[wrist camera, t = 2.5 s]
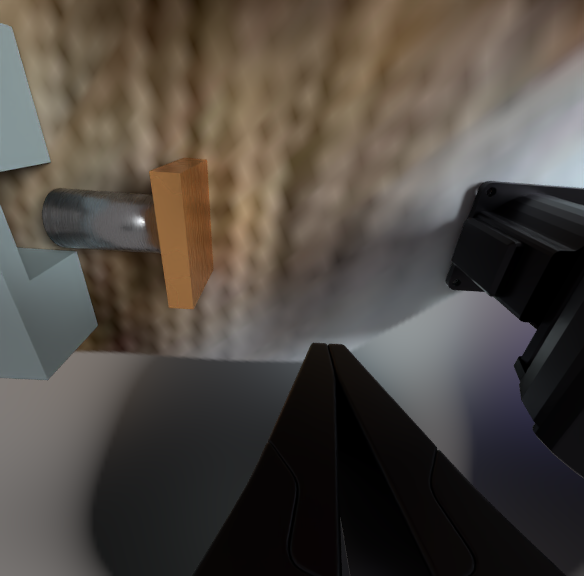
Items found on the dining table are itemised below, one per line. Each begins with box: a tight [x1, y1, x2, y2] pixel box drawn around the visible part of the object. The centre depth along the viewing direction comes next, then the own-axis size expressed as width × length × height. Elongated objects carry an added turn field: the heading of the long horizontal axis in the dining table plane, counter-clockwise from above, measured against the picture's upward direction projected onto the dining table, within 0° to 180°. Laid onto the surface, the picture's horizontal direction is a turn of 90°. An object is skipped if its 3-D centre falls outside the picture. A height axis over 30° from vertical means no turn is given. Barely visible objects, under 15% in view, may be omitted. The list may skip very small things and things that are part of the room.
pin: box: [42, 158, 213, 309], centre depth 15 cm, size 7×6×4 cm
